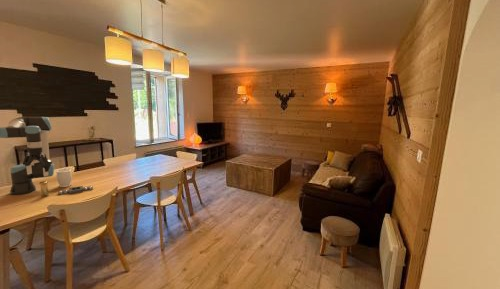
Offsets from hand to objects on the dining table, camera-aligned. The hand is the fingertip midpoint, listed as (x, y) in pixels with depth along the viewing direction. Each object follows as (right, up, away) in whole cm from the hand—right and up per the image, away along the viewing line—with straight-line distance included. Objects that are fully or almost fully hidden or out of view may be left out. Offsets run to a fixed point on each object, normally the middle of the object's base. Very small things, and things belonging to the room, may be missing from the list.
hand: (37, 174), depth 160 cm
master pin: (-10, -20, +16) cm, 28 cm away
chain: (+5, -19, +29) cm, 35 cm away
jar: (-13, -16, +39) cm, 44 cm away
